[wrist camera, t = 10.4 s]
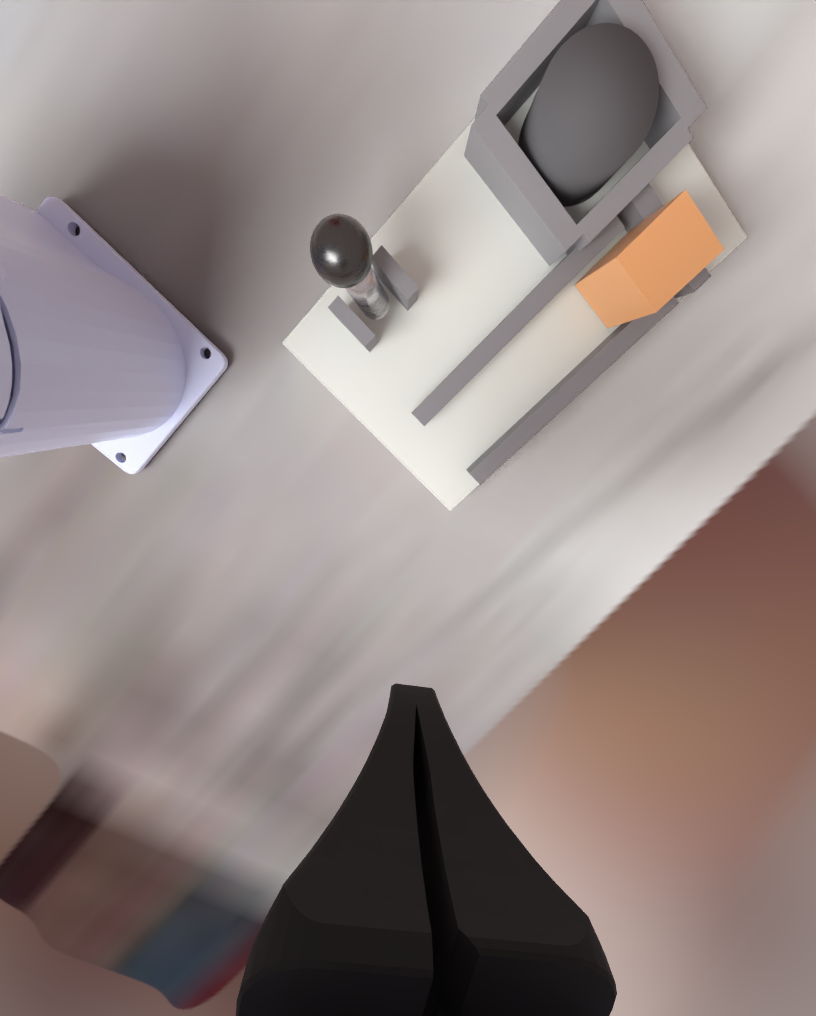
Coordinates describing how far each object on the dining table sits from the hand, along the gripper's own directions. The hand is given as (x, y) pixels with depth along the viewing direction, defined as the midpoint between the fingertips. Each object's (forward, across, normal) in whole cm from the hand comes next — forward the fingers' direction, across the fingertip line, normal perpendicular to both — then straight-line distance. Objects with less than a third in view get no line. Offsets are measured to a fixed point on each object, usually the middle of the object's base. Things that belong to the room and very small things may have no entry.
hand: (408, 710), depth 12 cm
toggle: (+7, +3, -13) cm, 15 cm away
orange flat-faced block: (+8, -7, -16) cm, 19 cm away
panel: (+10, -2, -15) cm, 18 cm away
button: (+8, -3, -20) cm, 22 cm away
